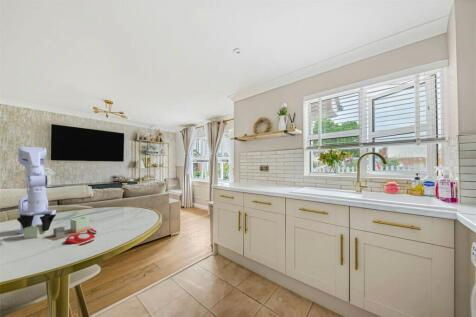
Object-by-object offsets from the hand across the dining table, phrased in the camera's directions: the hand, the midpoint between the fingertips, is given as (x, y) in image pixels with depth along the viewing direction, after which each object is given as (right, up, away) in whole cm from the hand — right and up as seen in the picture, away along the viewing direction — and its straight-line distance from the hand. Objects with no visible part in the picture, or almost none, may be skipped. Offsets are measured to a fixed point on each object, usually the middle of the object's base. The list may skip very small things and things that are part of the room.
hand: (37, 231), depth 83 cm
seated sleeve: (+14, -2, +7) cm, 16 cm away
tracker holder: (+26, -3, -4) cm, 26 cm away
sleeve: (0, -3, 0) cm, 3 cm away
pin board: (+12, -3, +3) cm, 13 cm away
